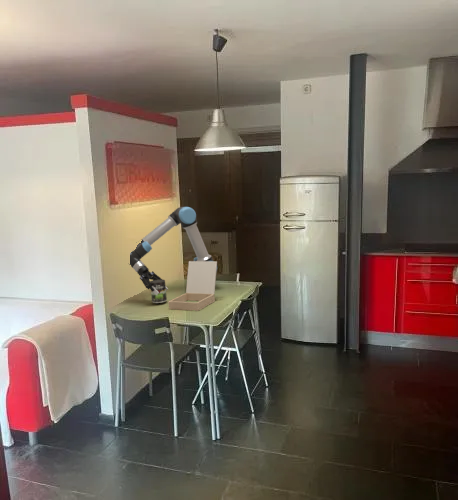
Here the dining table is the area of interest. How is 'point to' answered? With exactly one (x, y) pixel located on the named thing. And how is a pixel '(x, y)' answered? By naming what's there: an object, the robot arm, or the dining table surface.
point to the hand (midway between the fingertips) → (162, 292)
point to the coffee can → (161, 288)
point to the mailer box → (197, 286)
